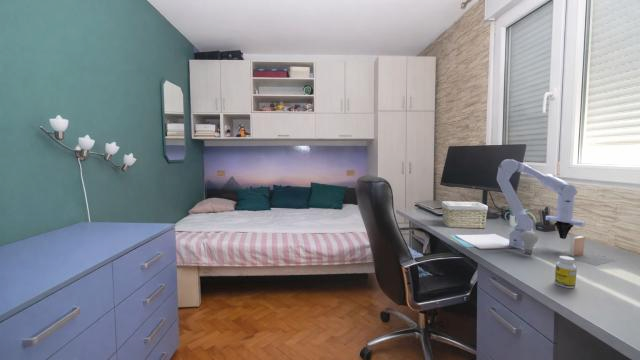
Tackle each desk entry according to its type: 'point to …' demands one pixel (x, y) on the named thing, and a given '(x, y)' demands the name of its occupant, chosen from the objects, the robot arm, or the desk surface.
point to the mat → (588, 258)
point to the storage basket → (464, 214)
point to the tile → (577, 246)
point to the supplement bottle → (565, 272)
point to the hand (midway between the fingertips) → (562, 238)
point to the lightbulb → (529, 240)
